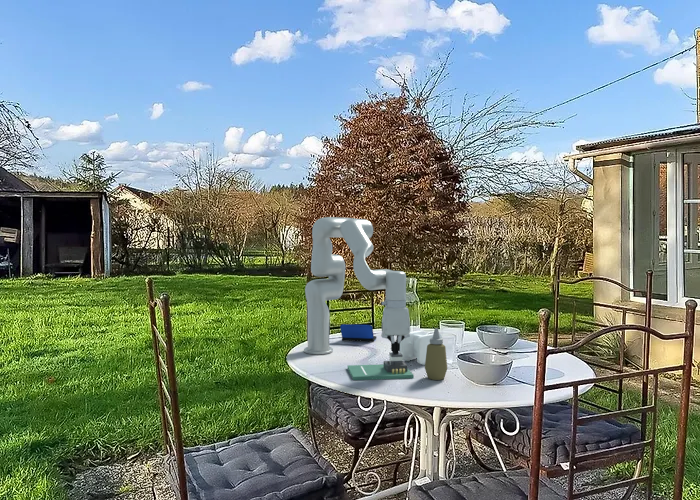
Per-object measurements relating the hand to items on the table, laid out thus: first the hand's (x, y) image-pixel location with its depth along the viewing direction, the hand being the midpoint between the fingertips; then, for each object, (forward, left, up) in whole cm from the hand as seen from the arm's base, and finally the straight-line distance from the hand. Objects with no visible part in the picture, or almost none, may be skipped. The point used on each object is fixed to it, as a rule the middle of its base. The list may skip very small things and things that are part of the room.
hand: (395, 353), depth 201 cm
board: (0, -6, -7) cm, 10 cm away
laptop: (-59, -5, -8) cm, 60 cm away
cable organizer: (-16, +14, -8) cm, 23 cm away
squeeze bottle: (+9, +13, -8) cm, 18 cm away
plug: (0, 0, -6) cm, 6 cm away
